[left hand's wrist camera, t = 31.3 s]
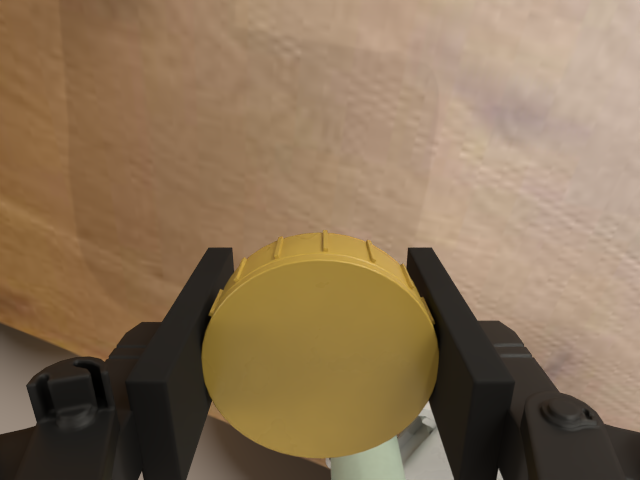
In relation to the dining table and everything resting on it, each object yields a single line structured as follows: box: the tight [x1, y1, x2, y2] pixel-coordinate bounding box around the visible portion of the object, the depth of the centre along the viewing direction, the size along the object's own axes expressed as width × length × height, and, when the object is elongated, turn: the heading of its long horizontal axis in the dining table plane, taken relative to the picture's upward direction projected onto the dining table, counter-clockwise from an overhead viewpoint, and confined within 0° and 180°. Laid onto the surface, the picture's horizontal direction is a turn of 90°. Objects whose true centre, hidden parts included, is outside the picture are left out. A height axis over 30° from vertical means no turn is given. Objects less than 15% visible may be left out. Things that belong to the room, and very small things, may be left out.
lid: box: [201, 230, 439, 458], centre depth 11 cm, size 6×6×2 cm
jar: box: [331, 435, 406, 480], centre depth 33 cm, size 5×5×16 cm
